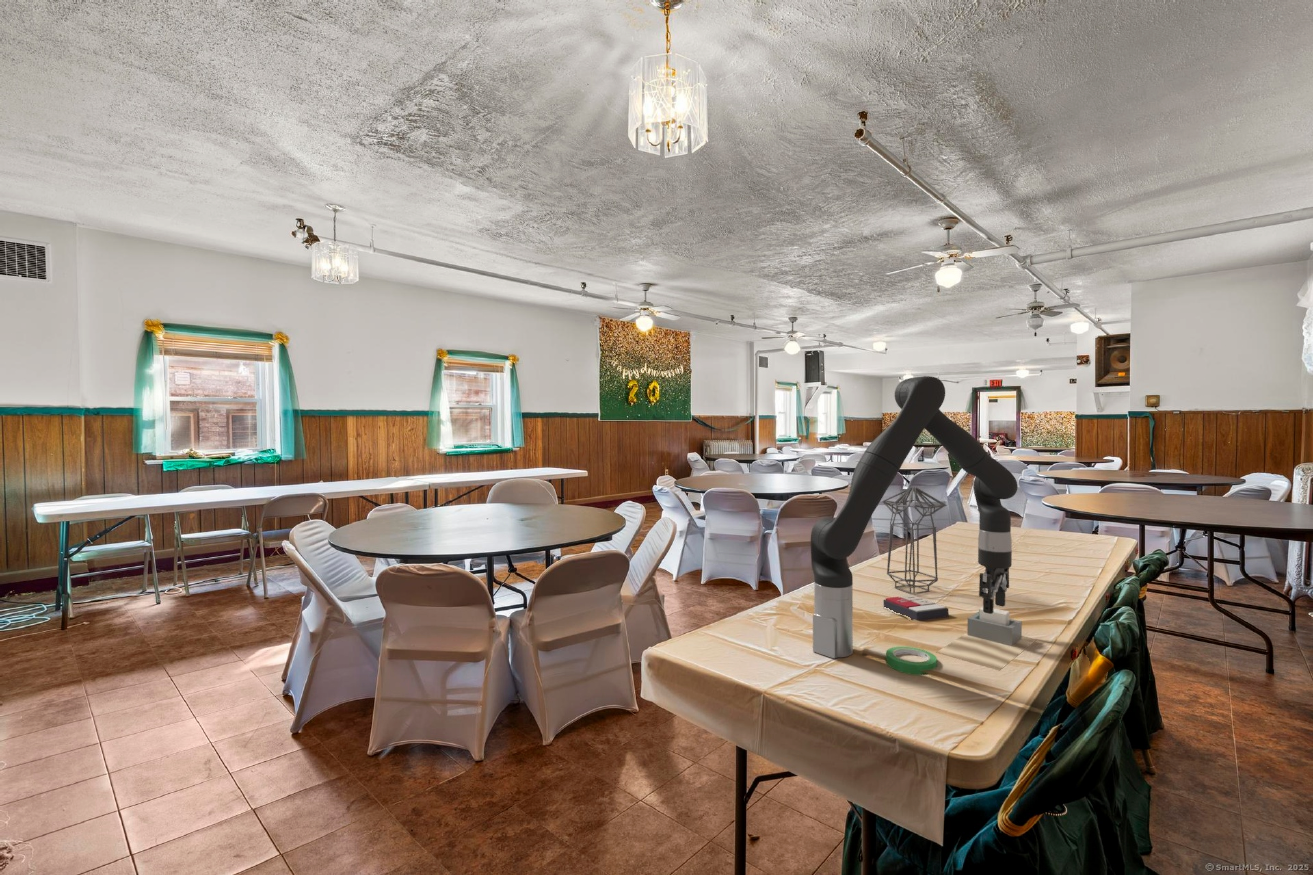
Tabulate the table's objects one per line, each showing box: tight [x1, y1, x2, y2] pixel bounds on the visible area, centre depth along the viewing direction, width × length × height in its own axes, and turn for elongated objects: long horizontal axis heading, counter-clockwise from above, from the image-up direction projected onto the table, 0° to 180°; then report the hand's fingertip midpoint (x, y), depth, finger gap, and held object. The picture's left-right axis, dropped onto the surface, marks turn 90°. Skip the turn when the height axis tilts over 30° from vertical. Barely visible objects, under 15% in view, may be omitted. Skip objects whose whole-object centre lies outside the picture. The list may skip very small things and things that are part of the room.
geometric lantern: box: [881, 486, 947, 594], centre depth 196 cm, size 16×16×35 cm
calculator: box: [883, 594, 949, 622], centre depth 173 cm, size 11×4×15 cm
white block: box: [978, 606, 1010, 626], centre depth 151 cm, size 3×6×6 cm, turn 42°
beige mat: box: [935, 632, 1037, 672], centre depth 145 cm, size 27×14×1 cm, turn 131°
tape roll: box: [885, 646, 938, 676], centre depth 137 cm, size 11×11×3 cm
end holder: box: [966, 611, 1023, 646], centre depth 151 cm, size 7×10×4 cm
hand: (994, 609), depth 151 cm, fingers open, 8 cm apart
